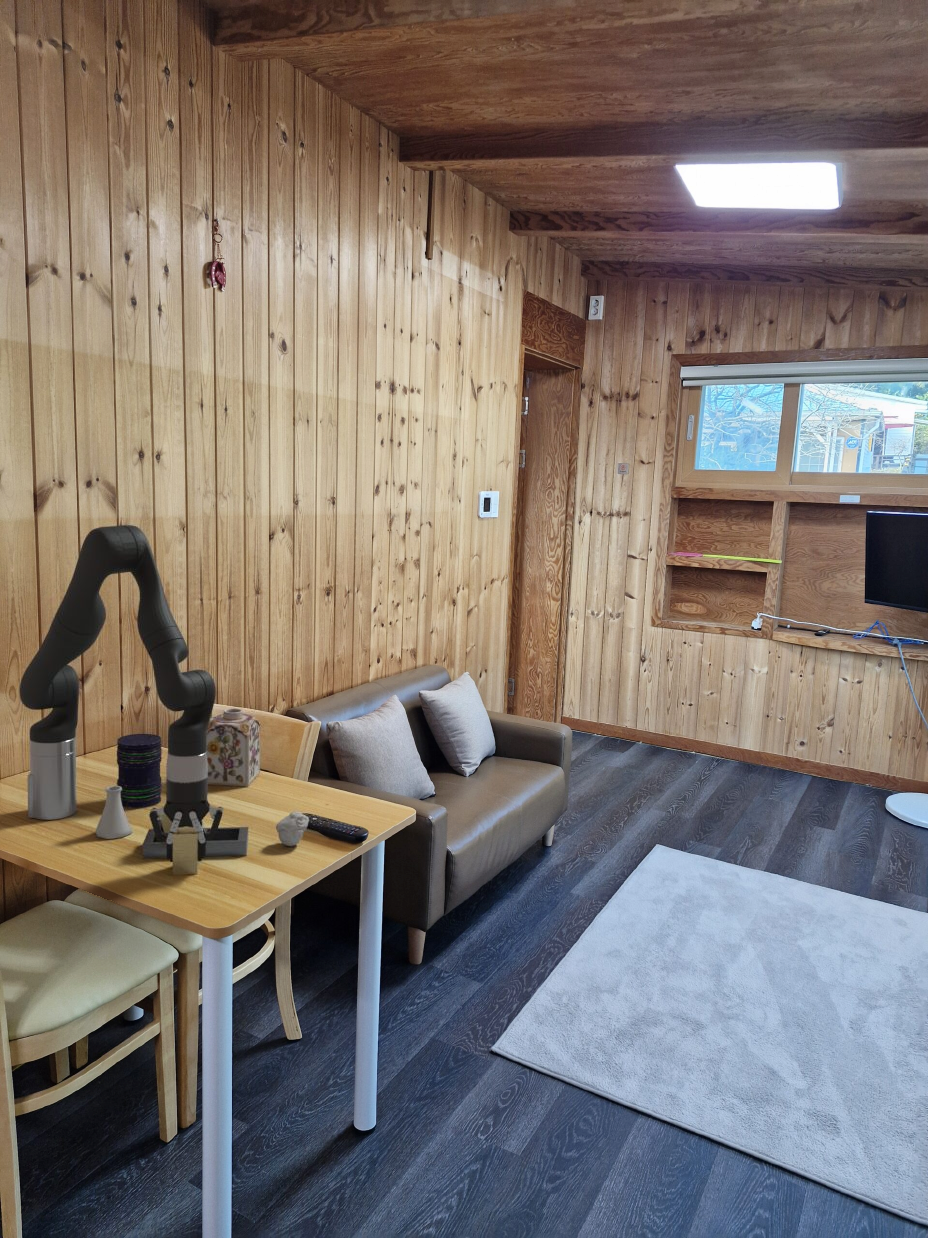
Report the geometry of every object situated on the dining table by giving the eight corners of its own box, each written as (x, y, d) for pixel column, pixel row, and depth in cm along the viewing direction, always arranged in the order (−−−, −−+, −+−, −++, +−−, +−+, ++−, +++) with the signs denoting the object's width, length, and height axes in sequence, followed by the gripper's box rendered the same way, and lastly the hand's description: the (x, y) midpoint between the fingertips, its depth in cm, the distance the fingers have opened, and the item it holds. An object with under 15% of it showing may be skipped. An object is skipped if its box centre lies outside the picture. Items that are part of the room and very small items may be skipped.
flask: (120, 824, 195) (120, 780, 194) (138, 833, 190) (138, 788, 189) (88, 833, 189) (88, 787, 188) (106, 842, 185) (106, 796, 183)
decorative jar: (216, 770, 235) (217, 703, 233) (260, 773, 235) (262, 706, 232) (201, 785, 223) (202, 714, 221) (248, 788, 223) (249, 717, 221)
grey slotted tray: (142, 858, 178) (142, 844, 177) (148, 843, 185) (149, 829, 185) (246, 855, 182) (246, 841, 181) (248, 840, 189) (248, 827, 189)
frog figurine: (312, 847, 187) (313, 815, 186) (280, 852, 184) (280, 820, 183) (302, 837, 192) (303, 806, 192) (270, 842, 189) (271, 810, 188)
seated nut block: (158, 852, 180) (158, 813, 179) (161, 843, 184) (161, 806, 183) (181, 851, 181) (182, 813, 180) (184, 843, 185) (184, 805, 184)
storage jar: (132, 811, 203) (132, 747, 201) (108, 801, 209) (107, 739, 207) (170, 801, 211) (170, 739, 209) (145, 791, 217) (146, 731, 215)
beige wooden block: (172, 874, 171) (172, 834, 170) (175, 865, 175) (175, 826, 174) (197, 874, 172) (197, 833, 171) (199, 864, 176) (199, 825, 175)
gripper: (144, 781, 166) (144, 869, 168) (224, 780, 169) (223, 867, 171) (150, 769, 173) (150, 853, 176) (227, 768, 176) (225, 851, 178)
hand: (186, 859), depth 173 cm, fingers closed on beige wooden block, 4 cm apart
